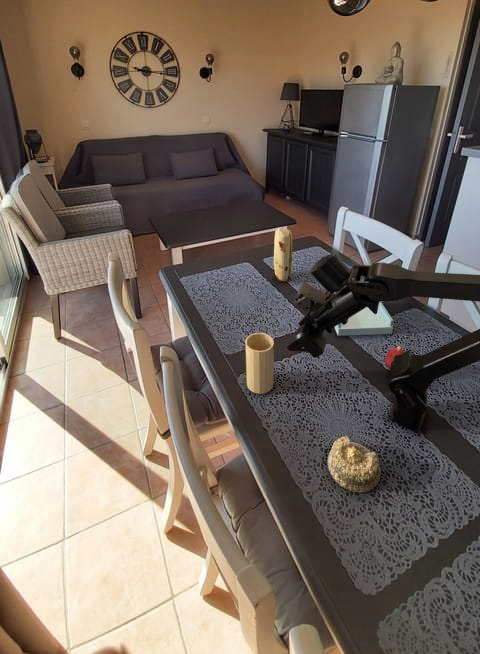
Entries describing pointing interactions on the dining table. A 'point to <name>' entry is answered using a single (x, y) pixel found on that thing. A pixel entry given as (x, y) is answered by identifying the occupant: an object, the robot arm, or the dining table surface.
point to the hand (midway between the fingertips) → (294, 336)
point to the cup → (259, 362)
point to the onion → (392, 356)
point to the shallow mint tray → (367, 323)
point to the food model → (283, 254)
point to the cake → (353, 466)
